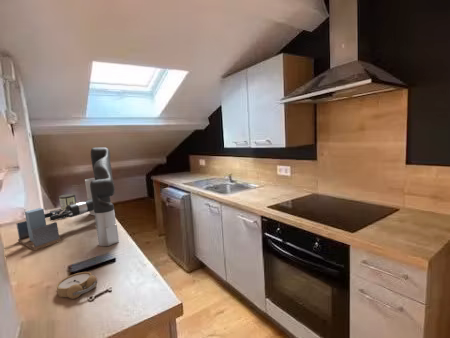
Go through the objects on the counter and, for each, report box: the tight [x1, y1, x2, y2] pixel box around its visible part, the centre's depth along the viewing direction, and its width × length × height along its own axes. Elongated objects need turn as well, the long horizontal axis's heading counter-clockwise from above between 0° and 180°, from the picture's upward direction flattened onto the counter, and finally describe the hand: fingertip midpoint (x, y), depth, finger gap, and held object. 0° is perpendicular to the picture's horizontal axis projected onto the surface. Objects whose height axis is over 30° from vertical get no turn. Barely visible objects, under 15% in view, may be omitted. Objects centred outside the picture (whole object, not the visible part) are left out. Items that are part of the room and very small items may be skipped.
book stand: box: [17, 237, 62, 251], centre depth 136 cm, size 21×12×2 cm, turn 57°
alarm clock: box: [56, 271, 98, 300], centre depth 91 cm, size 11×5×15 cm
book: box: [24, 207, 47, 242], centre depth 135 cm, size 4×7×16 cm, turn 146°
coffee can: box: [58, 193, 78, 209], centre depth 182 cm, size 10×10×14 cm
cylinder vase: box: [84, 177, 95, 216], centre depth 181 cm, size 12×12×25 cm
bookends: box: [15, 220, 60, 247], centre depth 136 cm, size 21×11×9 cm, turn 57°
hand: (46, 217), depth 139 cm, fingers open, 8 cm apart
